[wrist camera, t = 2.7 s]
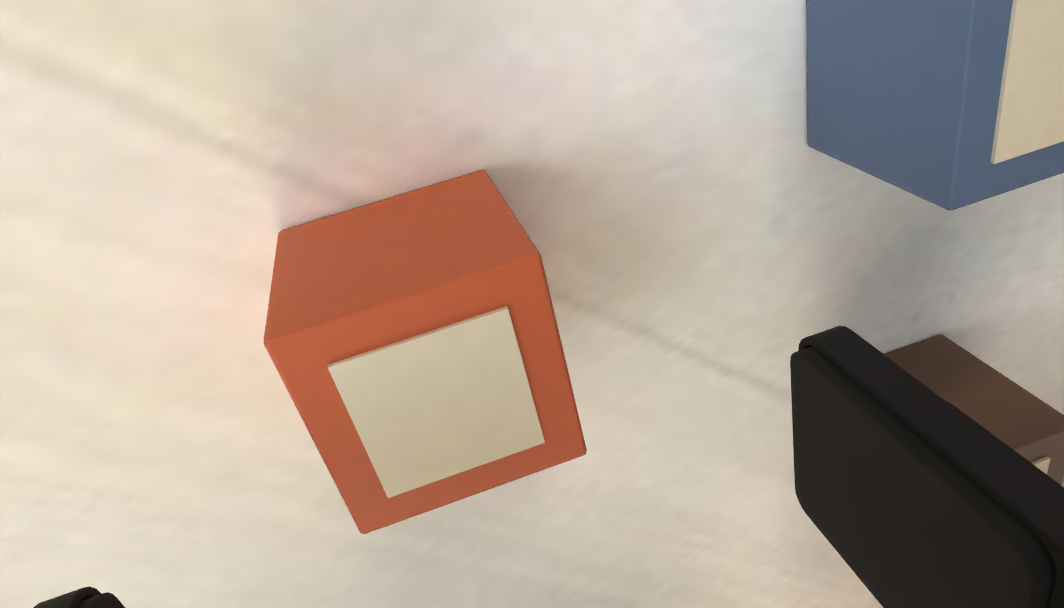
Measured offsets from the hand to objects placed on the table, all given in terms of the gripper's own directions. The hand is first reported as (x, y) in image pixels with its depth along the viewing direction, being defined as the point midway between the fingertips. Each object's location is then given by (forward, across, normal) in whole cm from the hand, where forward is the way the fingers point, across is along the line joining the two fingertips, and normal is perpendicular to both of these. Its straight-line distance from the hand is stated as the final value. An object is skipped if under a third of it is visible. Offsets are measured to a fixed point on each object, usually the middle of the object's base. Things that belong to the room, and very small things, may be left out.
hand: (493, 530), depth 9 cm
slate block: (+6, -11, -3) cm, 13 cm away
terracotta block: (+6, 0, -1) cm, 7 cm away
